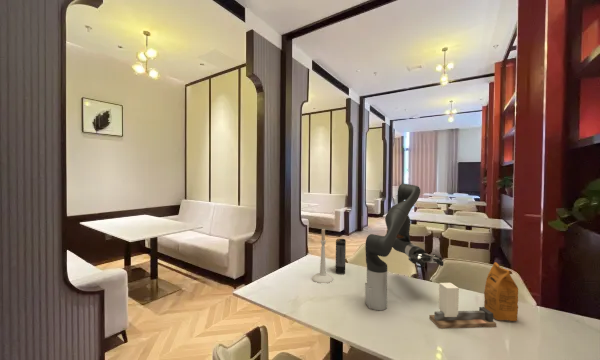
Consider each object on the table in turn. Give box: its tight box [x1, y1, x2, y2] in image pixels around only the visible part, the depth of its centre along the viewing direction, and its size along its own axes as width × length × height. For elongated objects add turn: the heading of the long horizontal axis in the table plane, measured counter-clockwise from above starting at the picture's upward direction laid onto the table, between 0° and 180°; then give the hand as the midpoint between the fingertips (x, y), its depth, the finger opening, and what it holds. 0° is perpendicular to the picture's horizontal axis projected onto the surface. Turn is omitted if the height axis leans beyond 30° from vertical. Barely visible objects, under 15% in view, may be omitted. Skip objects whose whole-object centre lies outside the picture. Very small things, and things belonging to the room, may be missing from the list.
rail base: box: [429, 306, 497, 329], centre depth 105 cm, size 24×7×5 cm, turn 93°
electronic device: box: [335, 238, 347, 275], centre depth 159 cm, size 9×6×20 cm, turn 168°
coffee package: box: [483, 261, 519, 322], centre depth 111 cm, size 10×12×22 cm
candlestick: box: [311, 228, 335, 284], centre depth 147 cm, size 13×13×30 cm
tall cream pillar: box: [438, 282, 460, 317], centre depth 104 cm, size 5×5×12 cm
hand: (433, 264), depth 115 cm, fingers open, 8 cm apart
